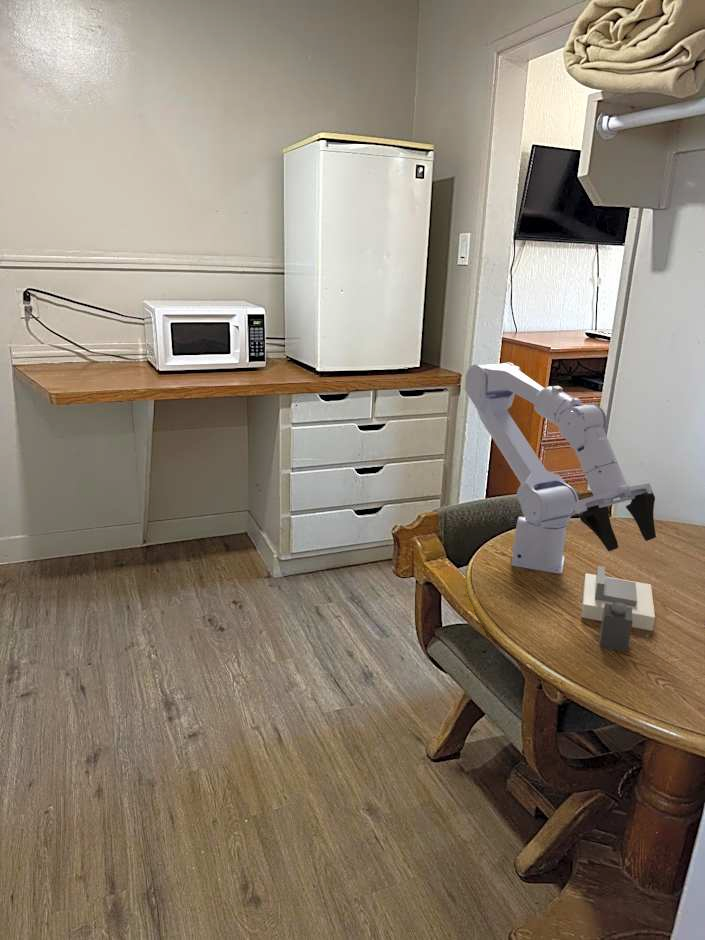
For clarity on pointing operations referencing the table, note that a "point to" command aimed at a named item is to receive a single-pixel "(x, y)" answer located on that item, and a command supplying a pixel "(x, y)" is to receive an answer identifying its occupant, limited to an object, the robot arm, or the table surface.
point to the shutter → (614, 589)
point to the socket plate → (640, 612)
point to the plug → (616, 626)
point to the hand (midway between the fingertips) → (632, 544)
